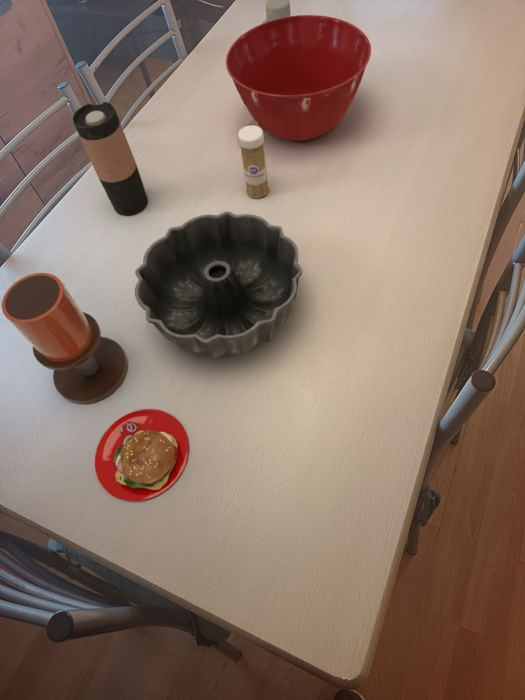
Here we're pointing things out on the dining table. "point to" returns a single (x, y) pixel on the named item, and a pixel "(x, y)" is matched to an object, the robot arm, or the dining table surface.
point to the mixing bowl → (299, 73)
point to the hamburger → (141, 455)
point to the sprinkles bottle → (254, 160)
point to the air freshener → (277, 9)
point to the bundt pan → (219, 283)
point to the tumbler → (47, 317)
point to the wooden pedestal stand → (89, 369)
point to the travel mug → (111, 157)
